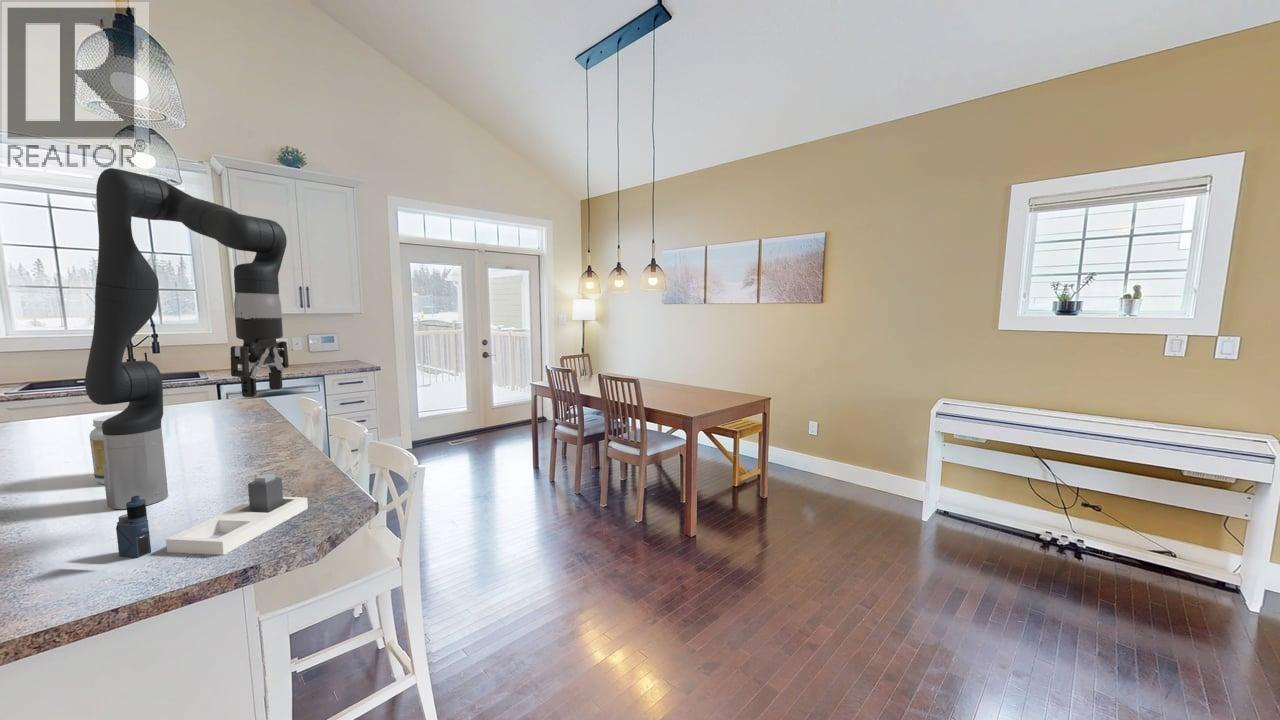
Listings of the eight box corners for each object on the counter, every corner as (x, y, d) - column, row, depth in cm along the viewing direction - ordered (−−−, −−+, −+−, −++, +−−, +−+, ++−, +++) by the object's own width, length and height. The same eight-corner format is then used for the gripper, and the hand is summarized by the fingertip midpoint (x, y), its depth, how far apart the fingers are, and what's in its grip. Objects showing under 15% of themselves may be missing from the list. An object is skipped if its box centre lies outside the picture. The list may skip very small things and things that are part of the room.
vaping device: (138, 564, 83) (131, 500, 81) (116, 560, 84) (109, 497, 82) (155, 556, 85) (149, 494, 84) (134, 553, 86) (127, 491, 85)
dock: (224, 559, 84) (222, 541, 84) (167, 557, 85) (165, 539, 85) (308, 512, 104) (307, 497, 104) (261, 510, 105) (260, 495, 105)
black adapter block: (250, 519, 98) (247, 479, 97) (266, 511, 102) (263, 472, 101) (268, 520, 98) (265, 479, 97) (284, 512, 102) (281, 473, 101)
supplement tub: (154, 466, 132) (148, 409, 130) (169, 475, 126) (163, 414, 124) (89, 480, 121) (81, 417, 120) (101, 489, 115) (94, 423, 114)
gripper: (261, 314, 102) (265, 386, 103) (212, 315, 88) (217, 399, 89) (298, 315, 103) (302, 387, 105) (256, 317, 89) (260, 399, 91)
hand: (263, 392), depth 97 cm, fingers open, 8 cm apart
